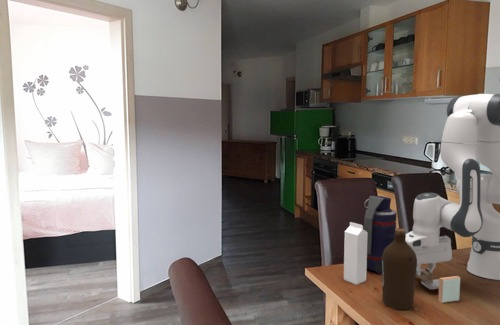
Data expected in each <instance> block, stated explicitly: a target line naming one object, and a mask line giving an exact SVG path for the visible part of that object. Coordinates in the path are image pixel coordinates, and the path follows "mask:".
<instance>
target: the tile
mask: <svg viewBox="0 0 500 325" xmlns="http://www.w3.org/2000/svg"><path fill="white" fill-rule="evenodd" d="M438 279H439V288H438V300H437V301H438V302H439V303H441V304H444V303H450V302H456V301H457V302H458V301H460V293H461V292H460V291H461V290H460V289H461V277H460V276H459V275H454V276H444V277H439V278H438Z"/></svg>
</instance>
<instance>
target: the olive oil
mask: <svg viewBox="0 0 500 325" xmlns="http://www.w3.org/2000/svg"><path fill="white" fill-rule="evenodd" d="M406 232H407V231H406V229H405V228H401V227H398V228H397V227H396V229H395V240H394V241H393V242H392V243H391V244H389V245H388V246H387V247H386V248H385V249H384V251H383V254H382V274H381V275H382V303H383V304H384V305H385V306H386V307H389V308H391V309H393V310H394V309H395V310H401V311H403V310H404V311H405V310H410V309H412V308H413V306H414V297H415V286H416V277H417V276H416V267H417V257H416V254H415V252H414V250H413V249H412V248H411V247H410V246H409V245H408V244H407V243H406V241H405V239H406V234H407V233H406Z"/></svg>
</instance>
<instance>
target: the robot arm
mask: <svg viewBox="0 0 500 325" xmlns="http://www.w3.org/2000/svg"><path fill="white" fill-rule="evenodd" d="M448 102H449V103H448V104H447V107H446V116H447V119H446V121H445V124H444V128H443V131H442V135H441V136H442V137H441V144H440V159H441V160H442V162H443V163H444V165H445V166H446V167H448V168H449V169H450V170H452V171H453V173H455V175H456V177H457V178H458V179H457V181H456V184H455V187H456V192H457V194H458V195H459V203H458V202H454V201H452V200H448V199H445V198H443V197H442V196H440V195H439V194H438V193H436V192H435V193H434V192H423V193H420V194H418V195H417V196H416V197H415V199H414V202H413V209H412V210H413V211H412V219H413V226H412V230H411V231H409V232H407V233H405V234H406V239H405V241H406V243H407V244H408V245H409V246H410V247H411V248H412V249H413V250H414V252H415V254H416V257H417V267H416V270H417V275H419V276H420V275H423V271H422V270H421V269H420V267H422V265H426V264H429V265H428V267H426V268H425V269H426V270H427V271H429V272H431V273H432V274H433V275H434V271H433V270H434V269H435V268H436V266H437V263H444V262H450V261H451V260H452V259H453V251H452V245H451V244H452V240H451V238H450V237H449V236H448V235H443V236H442V235H441V236H440V232H441V230H440V229H441V228H446V229H447V230H450V231H452V232H454V233H455V234H457V235H459V236H460V237H462V238H470V237H471V248H470V253H469V254H470V255H469V259H468V261H467V264H466V265H467V267H466V270H467V271H468V272H469V273H470V274H472V275H475V276H478V277H480V278H485V279H489V280H495V281H500V212H498V211H497V210H496V209H495V208H494V206H493V204H496V205H500V93H477V94H470V95H458V96H455V97H453V98H451V99H450V101H448ZM479 164H481V166H483V167H486V168H487V169H488V170H489V171H490V172H491V174H490V173H489V174H487V173H481V168H480V165H479Z"/></svg>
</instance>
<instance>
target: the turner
mask: <svg viewBox="0 0 500 325" xmlns="http://www.w3.org/2000/svg"><path fill="white" fill-rule="evenodd" d="M420 269H421V270H422V271H423V275H420V276H419V275H417V270H416V276H415V277H417V278H418V279H420V280H421V281H420V282H421V284H422V285H423V286H424V287H425V288H428V289H429V290H437V289H438V290H439V278H435V279H434V273H433V274H432V273H431V272H429V271H427V270H426V268H424V267H422V266H421V267H420Z"/></svg>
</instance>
